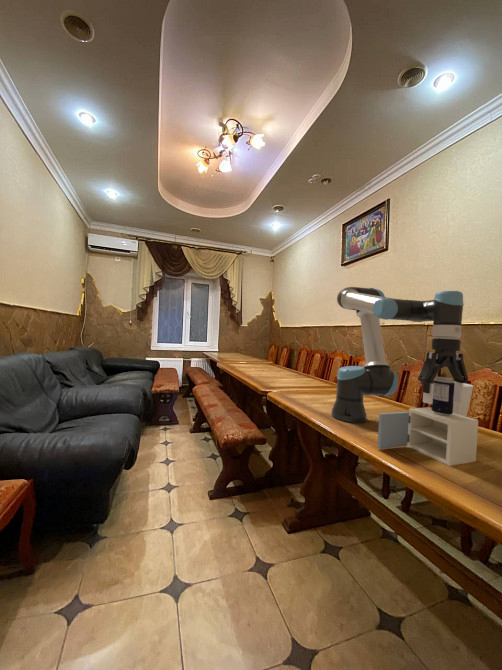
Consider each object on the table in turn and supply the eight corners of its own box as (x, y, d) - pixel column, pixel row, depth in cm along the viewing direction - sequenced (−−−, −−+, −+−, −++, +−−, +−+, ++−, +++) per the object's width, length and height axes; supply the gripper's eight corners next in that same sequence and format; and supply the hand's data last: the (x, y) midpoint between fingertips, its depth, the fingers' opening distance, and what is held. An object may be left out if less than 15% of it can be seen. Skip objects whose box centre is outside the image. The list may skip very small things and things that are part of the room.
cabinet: (406, 445, 90) (409, 408, 90) (431, 442, 94) (433, 407, 94) (449, 465, 77) (451, 422, 76) (475, 461, 80) (478, 420, 80)
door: (374, 446, 86) (376, 412, 86) (403, 442, 91) (405, 410, 91) (380, 449, 84) (382, 414, 84) (409, 445, 89) (411, 412, 88)
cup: (475, 443, 95) (479, 385, 95) (462, 449, 89) (466, 387, 89) (440, 432, 105) (443, 379, 105) (426, 437, 99) (429, 381, 99)
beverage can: (456, 417, 82) (458, 380, 81) (436, 415, 83) (438, 378, 83) (446, 412, 87) (448, 377, 87) (428, 410, 88) (430, 375, 88)
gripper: (430, 337, 77) (426, 407, 77) (484, 340, 85) (480, 403, 85) (407, 336, 84) (403, 400, 85) (459, 339, 92) (455, 398, 93)
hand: (442, 402), depth 85 cm, fingers open, 13 cm apart
